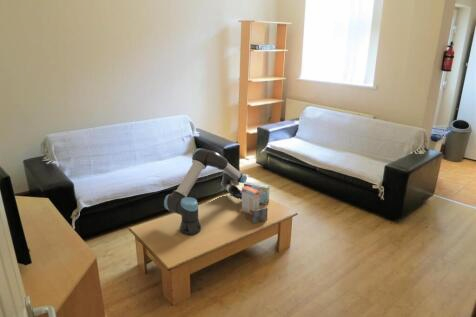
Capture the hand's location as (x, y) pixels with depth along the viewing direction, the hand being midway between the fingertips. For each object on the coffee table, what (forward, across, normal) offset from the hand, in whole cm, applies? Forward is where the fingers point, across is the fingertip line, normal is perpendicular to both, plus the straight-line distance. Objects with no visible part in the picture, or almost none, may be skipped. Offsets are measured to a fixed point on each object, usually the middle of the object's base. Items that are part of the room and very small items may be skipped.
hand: (246, 200), depth 274 cm
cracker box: (+8, +1, -8) cm, 11 cm away
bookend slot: (+15, +1, -8) cm, 17 cm away
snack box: (-9, -15, -8) cm, 19 cm away
